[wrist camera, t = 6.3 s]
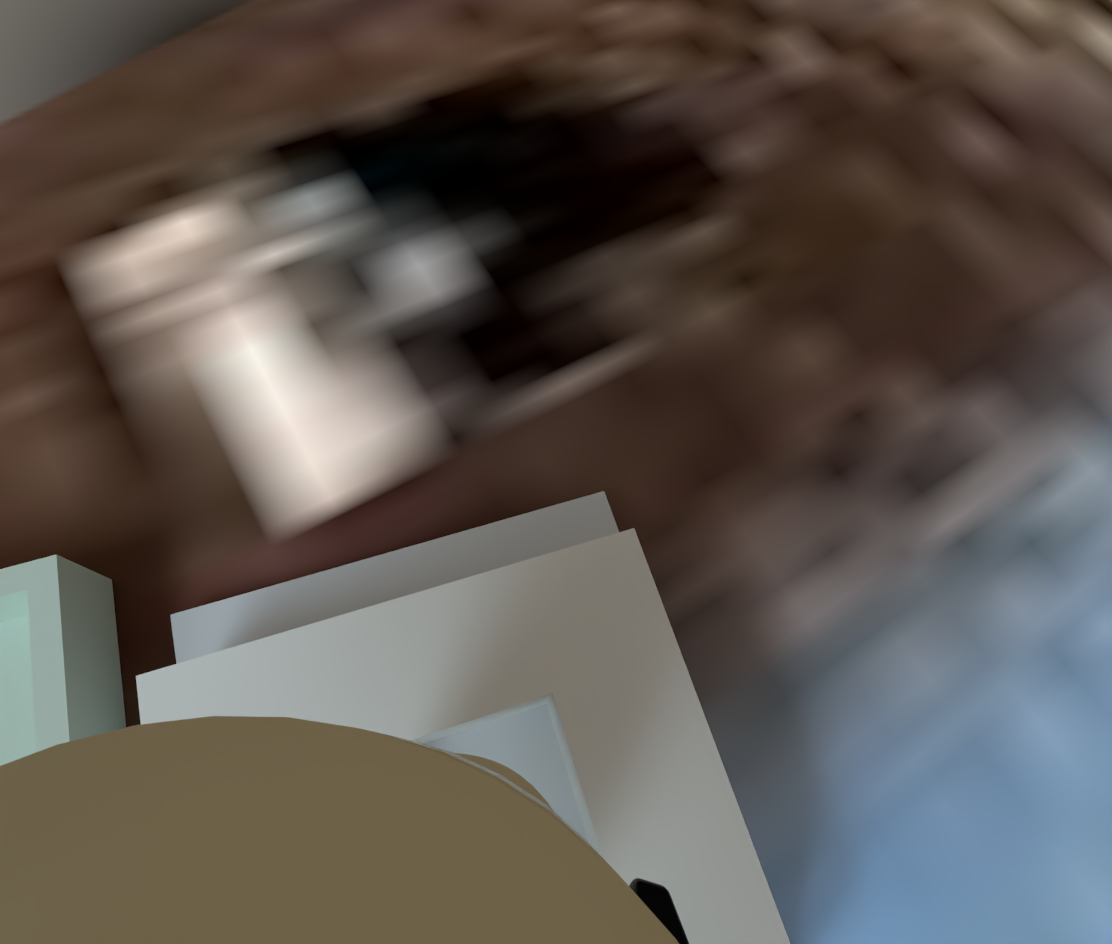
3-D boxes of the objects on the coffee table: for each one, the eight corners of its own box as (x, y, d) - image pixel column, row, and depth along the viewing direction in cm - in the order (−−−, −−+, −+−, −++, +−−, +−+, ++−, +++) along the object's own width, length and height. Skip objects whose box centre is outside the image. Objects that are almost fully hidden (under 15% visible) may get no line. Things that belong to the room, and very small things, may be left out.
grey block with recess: (825, 1121, 19) (916, 1224, 14) (284, 1374, 16) (205, 1586, 12) (600, 501, 25) (618, 448, 21) (184, 620, 22) (109, 588, 18)
